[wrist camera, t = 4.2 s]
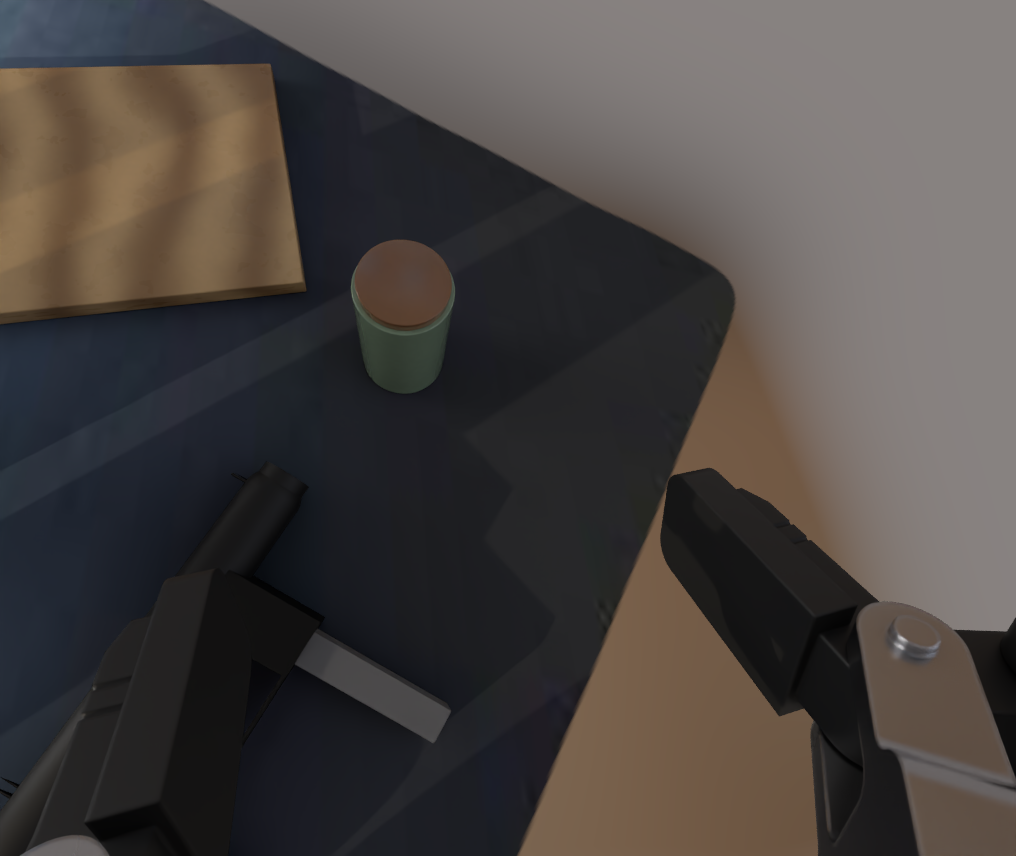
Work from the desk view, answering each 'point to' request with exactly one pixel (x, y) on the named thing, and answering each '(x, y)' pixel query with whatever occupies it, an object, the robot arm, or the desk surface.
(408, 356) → the salt pot
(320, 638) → the door handle
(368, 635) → the desk surface
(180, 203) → the oak board
